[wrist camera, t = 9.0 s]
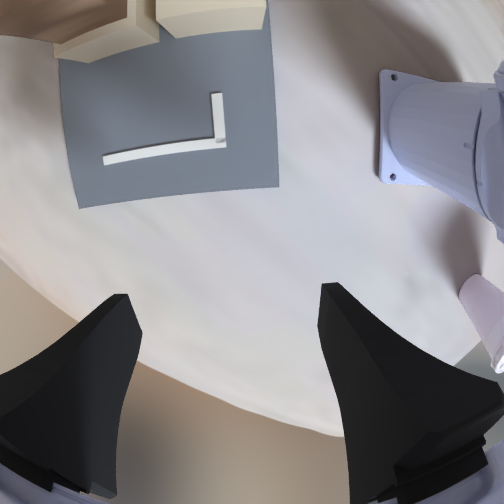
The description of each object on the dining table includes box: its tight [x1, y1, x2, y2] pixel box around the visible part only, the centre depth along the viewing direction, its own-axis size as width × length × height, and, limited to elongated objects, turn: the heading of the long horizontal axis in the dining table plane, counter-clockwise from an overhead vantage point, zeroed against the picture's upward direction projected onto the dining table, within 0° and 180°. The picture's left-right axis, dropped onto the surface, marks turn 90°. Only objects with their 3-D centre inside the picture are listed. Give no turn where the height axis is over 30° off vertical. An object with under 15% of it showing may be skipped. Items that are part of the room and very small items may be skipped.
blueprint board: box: [53, 0, 279, 209], centre depth 12 cm, size 14×16×5 cm
